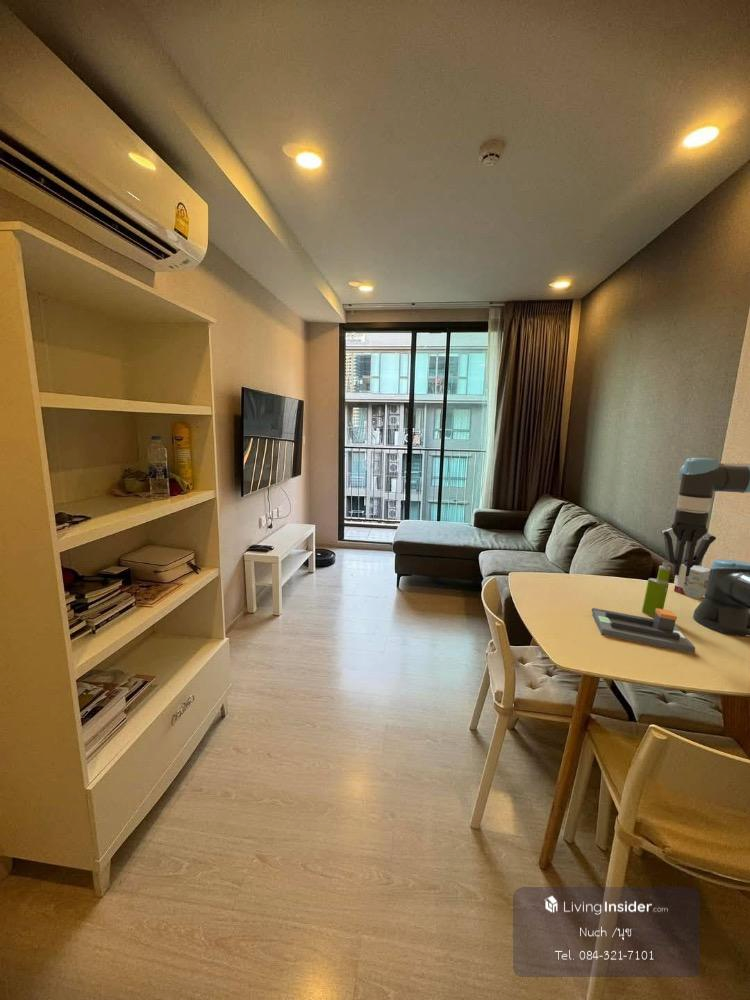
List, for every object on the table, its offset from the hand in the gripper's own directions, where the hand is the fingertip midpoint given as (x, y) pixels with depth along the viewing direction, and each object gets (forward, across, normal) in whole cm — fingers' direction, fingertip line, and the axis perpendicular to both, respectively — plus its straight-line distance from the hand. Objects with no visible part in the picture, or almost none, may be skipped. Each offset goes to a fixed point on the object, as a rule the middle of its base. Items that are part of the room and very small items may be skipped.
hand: (678, 585), depth 115 cm
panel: (+17, +8, 0) cm, 19 cm away
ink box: (+19, -23, -49) cm, 57 cm away
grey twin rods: (+18, +8, -9) cm, 21 cm away
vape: (+18, 0, -18) cm, 25 cm away
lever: (+15, +2, 0) cm, 16 cm away
